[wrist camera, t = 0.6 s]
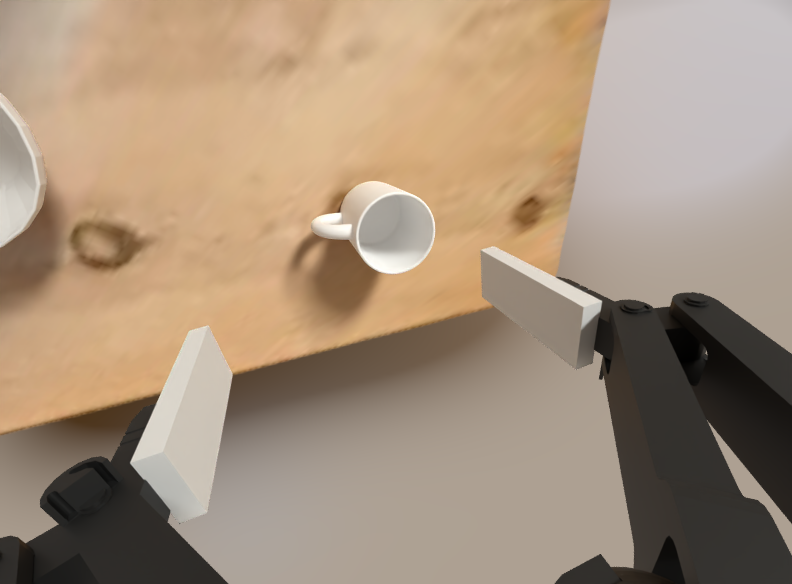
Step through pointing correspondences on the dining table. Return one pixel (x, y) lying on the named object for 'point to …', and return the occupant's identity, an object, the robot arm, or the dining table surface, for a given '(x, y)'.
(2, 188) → the bowl
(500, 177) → the dining table surface
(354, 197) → the mug
